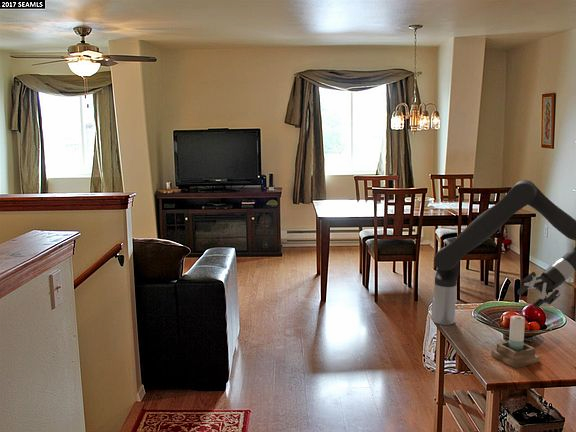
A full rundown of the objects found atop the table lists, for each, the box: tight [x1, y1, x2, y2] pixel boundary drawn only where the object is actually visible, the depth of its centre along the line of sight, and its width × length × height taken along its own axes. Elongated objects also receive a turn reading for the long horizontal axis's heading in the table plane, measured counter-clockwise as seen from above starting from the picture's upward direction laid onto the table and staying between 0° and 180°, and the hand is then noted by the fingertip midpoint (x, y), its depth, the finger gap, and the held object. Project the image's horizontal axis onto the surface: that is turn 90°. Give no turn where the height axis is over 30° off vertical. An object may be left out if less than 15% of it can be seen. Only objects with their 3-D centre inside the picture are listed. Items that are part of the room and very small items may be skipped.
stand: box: [490, 340, 541, 369], centre depth 218 cm, size 12×12×5 cm
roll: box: [508, 315, 526, 352], centre depth 217 cm, size 5×5×14 cm
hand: (525, 300), depth 223 cm, fingers open, 8 cm apart
